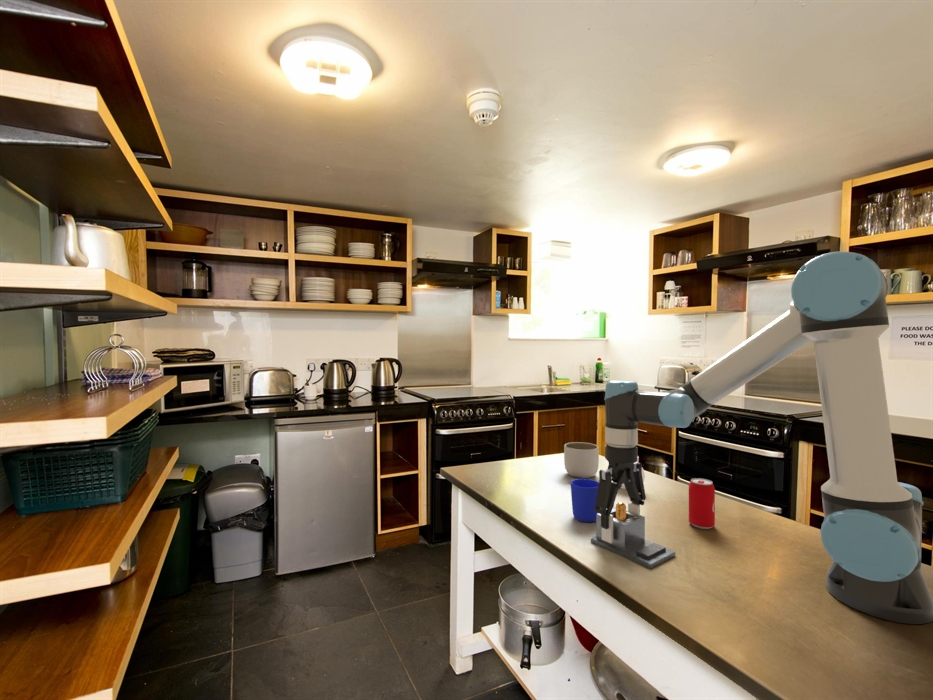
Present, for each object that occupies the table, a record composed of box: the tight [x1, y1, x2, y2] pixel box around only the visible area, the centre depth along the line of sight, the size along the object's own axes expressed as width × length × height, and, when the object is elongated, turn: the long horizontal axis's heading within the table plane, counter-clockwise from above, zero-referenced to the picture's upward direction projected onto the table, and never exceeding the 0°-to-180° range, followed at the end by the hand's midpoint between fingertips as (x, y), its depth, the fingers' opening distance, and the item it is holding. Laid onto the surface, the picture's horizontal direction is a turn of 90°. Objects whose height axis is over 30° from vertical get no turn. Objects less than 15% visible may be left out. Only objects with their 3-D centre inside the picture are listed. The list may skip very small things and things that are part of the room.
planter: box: [563, 441, 600, 479], centre depth 165 cm, size 12×12×11 cm
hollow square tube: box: [595, 506, 646, 551], centre depth 109 cm, size 8×8×6 cm
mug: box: [570, 478, 615, 523], centre depth 124 cm, size 8×12×10 cm
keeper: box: [590, 501, 676, 570], centre depth 106 cm, size 16×10×10 cm, turn 36°
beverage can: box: [688, 477, 716, 530], centre depth 119 cm, size 6×6×12 cm
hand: (620, 535), depth 109 cm, fingers open, 10 cm apart
